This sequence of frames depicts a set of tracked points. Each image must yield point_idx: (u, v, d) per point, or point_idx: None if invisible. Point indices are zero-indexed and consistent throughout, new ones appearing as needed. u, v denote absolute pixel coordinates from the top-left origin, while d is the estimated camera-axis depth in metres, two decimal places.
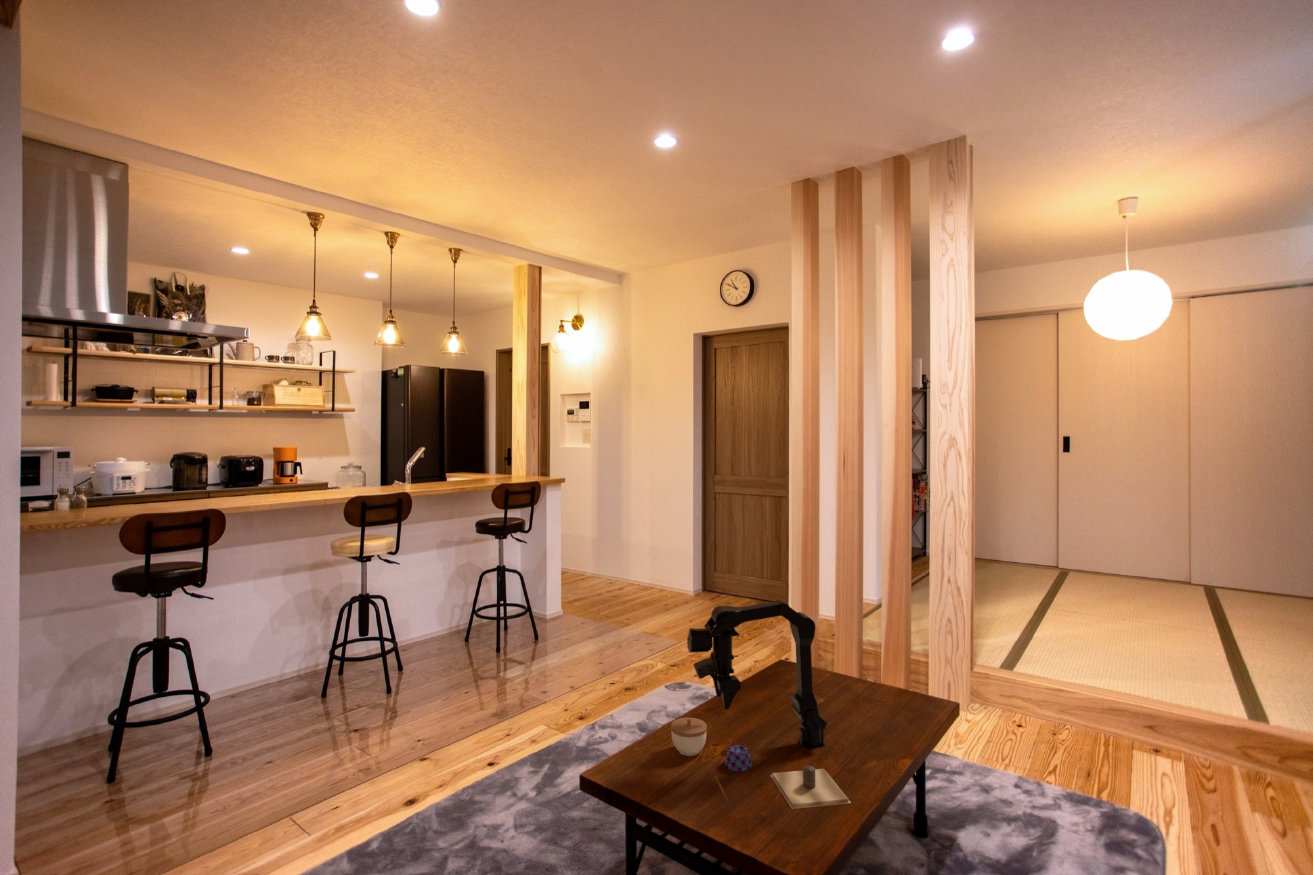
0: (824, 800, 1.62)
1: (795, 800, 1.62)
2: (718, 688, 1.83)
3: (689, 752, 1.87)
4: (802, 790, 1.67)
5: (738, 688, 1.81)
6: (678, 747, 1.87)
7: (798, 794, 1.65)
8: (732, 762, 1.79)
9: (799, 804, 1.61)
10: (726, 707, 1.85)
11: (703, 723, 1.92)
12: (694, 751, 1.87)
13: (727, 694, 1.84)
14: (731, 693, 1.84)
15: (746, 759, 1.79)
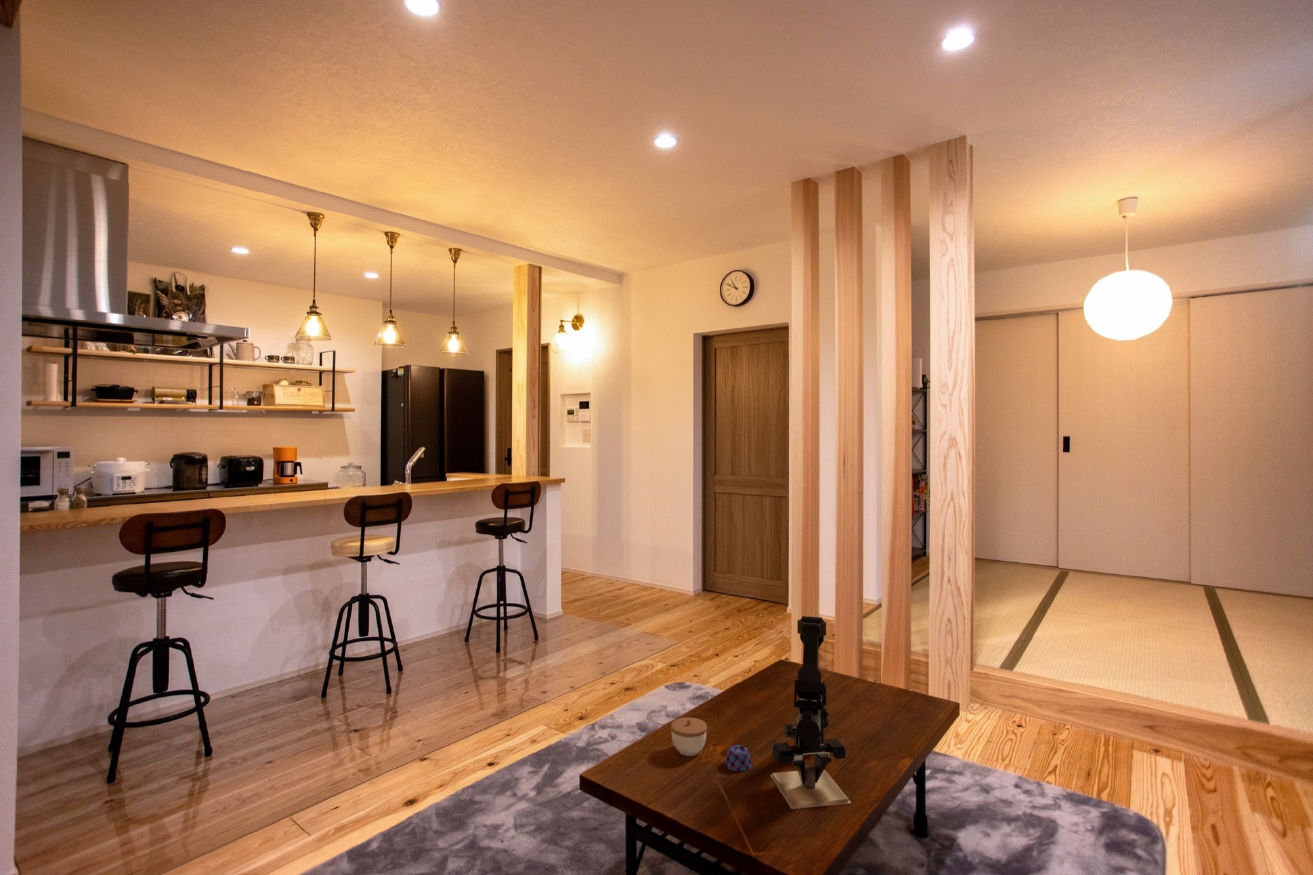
0: (824, 800, 1.62)
1: (795, 800, 1.62)
2: None
3: (689, 752, 1.87)
4: (802, 790, 1.67)
5: (778, 760, 1.66)
6: (678, 747, 1.87)
7: (798, 794, 1.65)
8: (731, 762, 1.79)
9: (799, 804, 1.61)
10: (801, 780, 1.69)
11: (703, 723, 1.92)
12: (694, 751, 1.87)
13: None
14: None
15: (745, 759, 1.79)
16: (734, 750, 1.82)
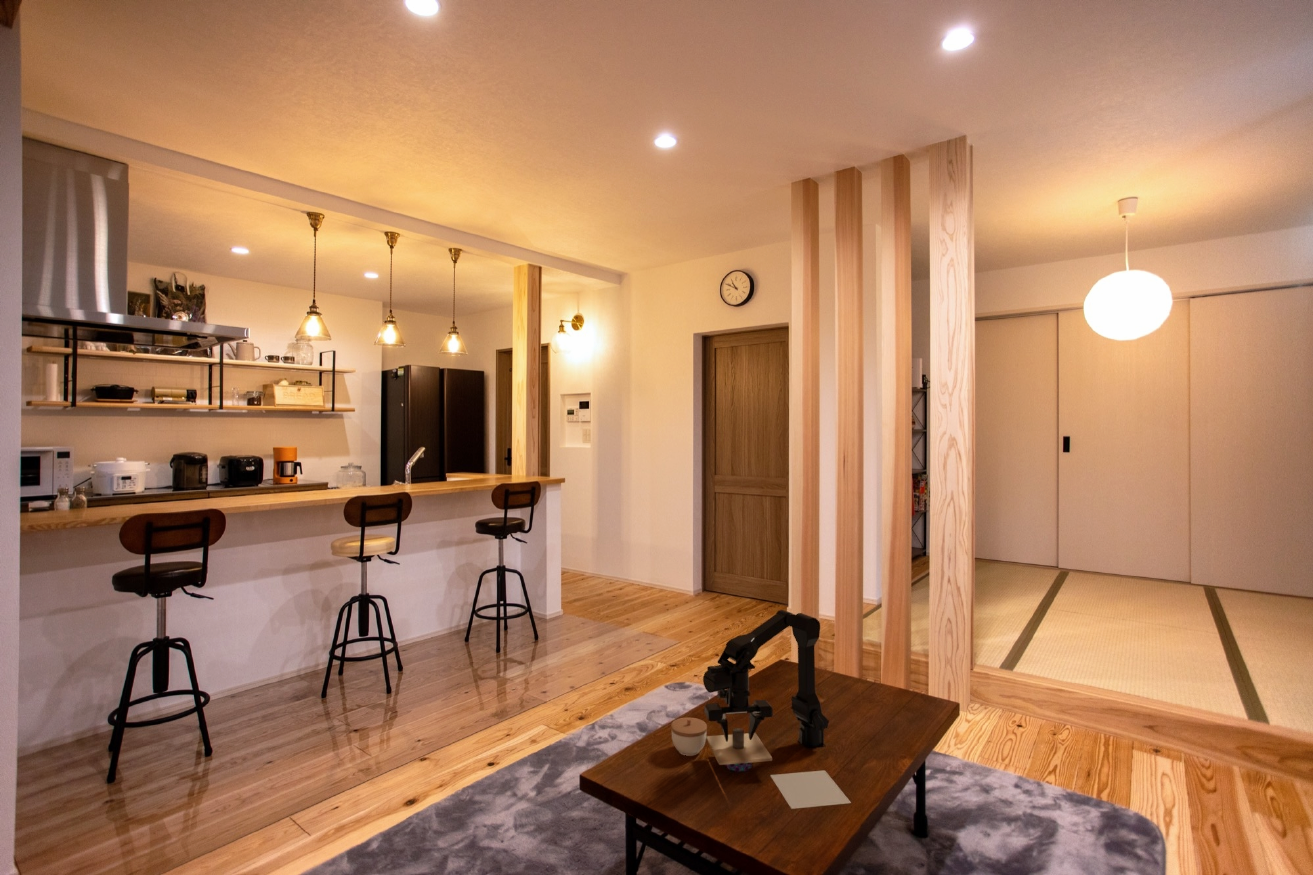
0: (749, 759, 1.75)
1: (722, 758, 1.75)
2: None
3: (689, 752, 1.87)
4: (731, 750, 1.79)
5: (708, 718, 1.78)
6: (678, 747, 1.87)
7: (726, 754, 1.77)
8: None
9: (725, 762, 1.73)
10: (725, 738, 1.81)
11: (703, 723, 1.92)
12: (694, 751, 1.87)
13: None
14: None
15: None
16: None
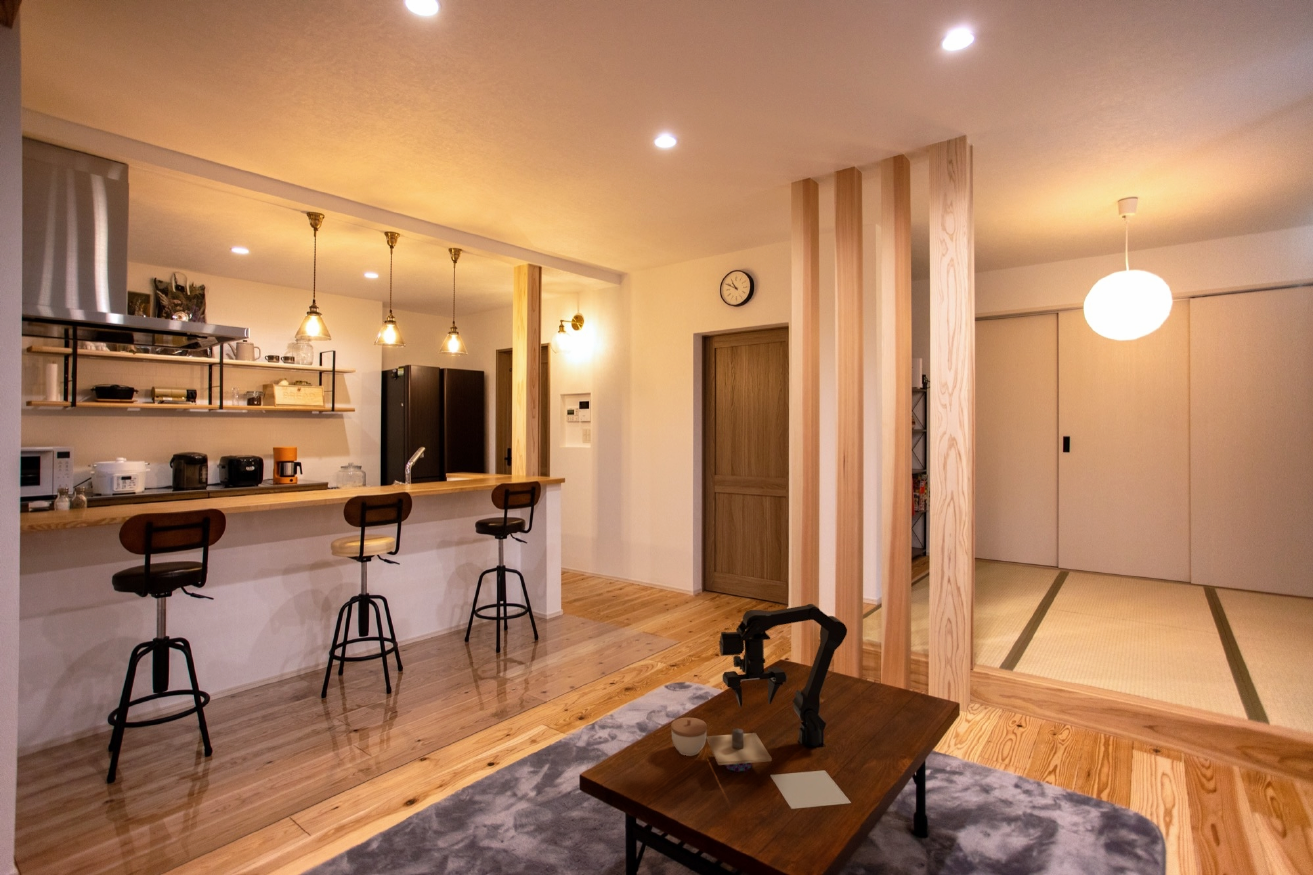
0: (748, 759, 1.75)
1: (721, 759, 1.75)
2: None
3: (689, 752, 1.87)
4: (730, 750, 1.79)
5: (727, 685, 1.89)
6: (678, 747, 1.87)
7: (725, 754, 1.78)
8: None
9: (724, 762, 1.73)
10: (739, 704, 1.92)
11: (703, 723, 1.92)
12: (694, 751, 1.87)
13: None
14: None
15: None
16: None
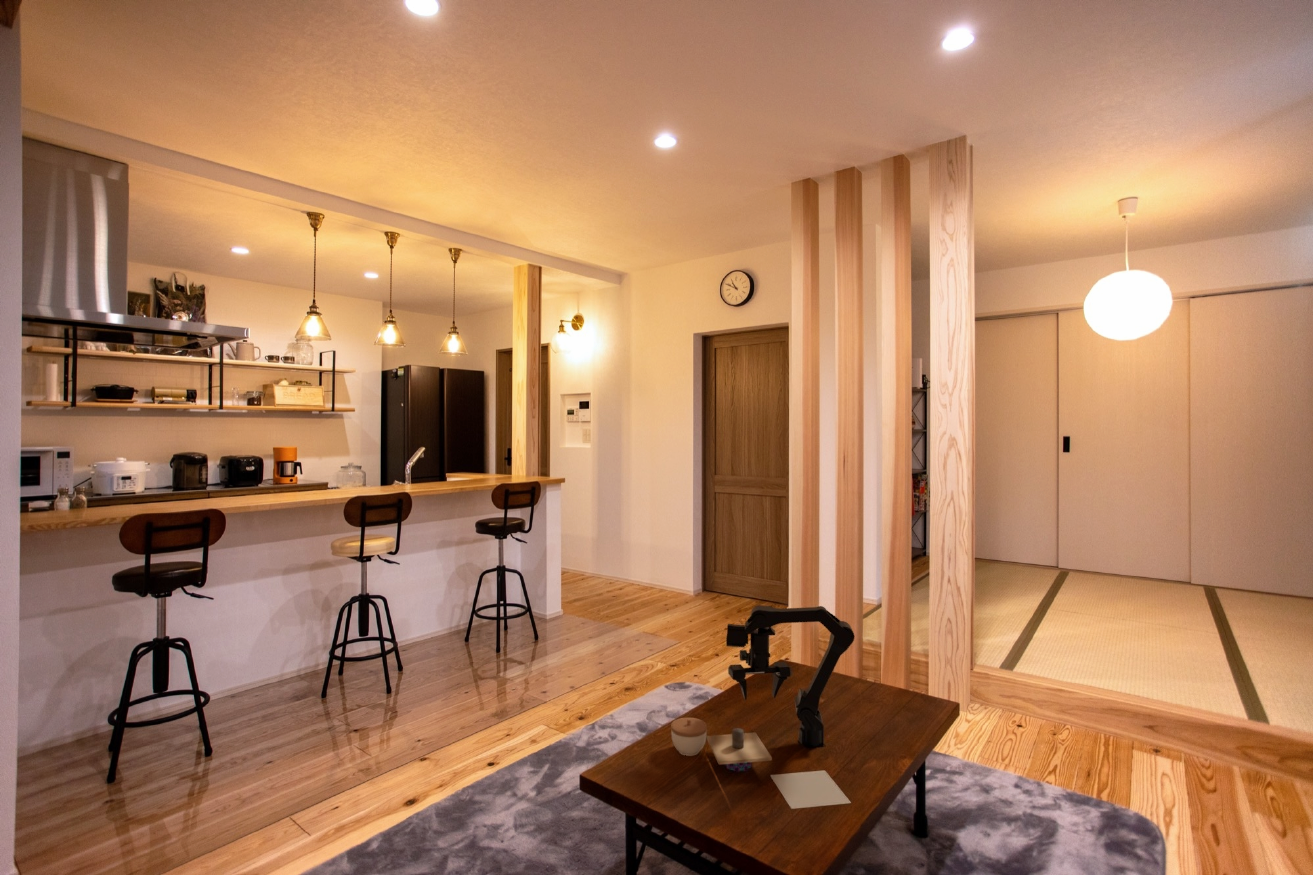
0: (749, 759, 1.75)
1: (722, 758, 1.75)
2: None
3: (689, 752, 1.87)
4: (731, 750, 1.80)
5: (732, 677, 1.94)
6: (678, 747, 1.87)
7: (726, 753, 1.78)
8: None
9: (725, 761, 1.74)
10: (744, 697, 1.97)
11: (703, 723, 1.92)
12: (694, 751, 1.87)
13: None
14: None
15: None
16: None
